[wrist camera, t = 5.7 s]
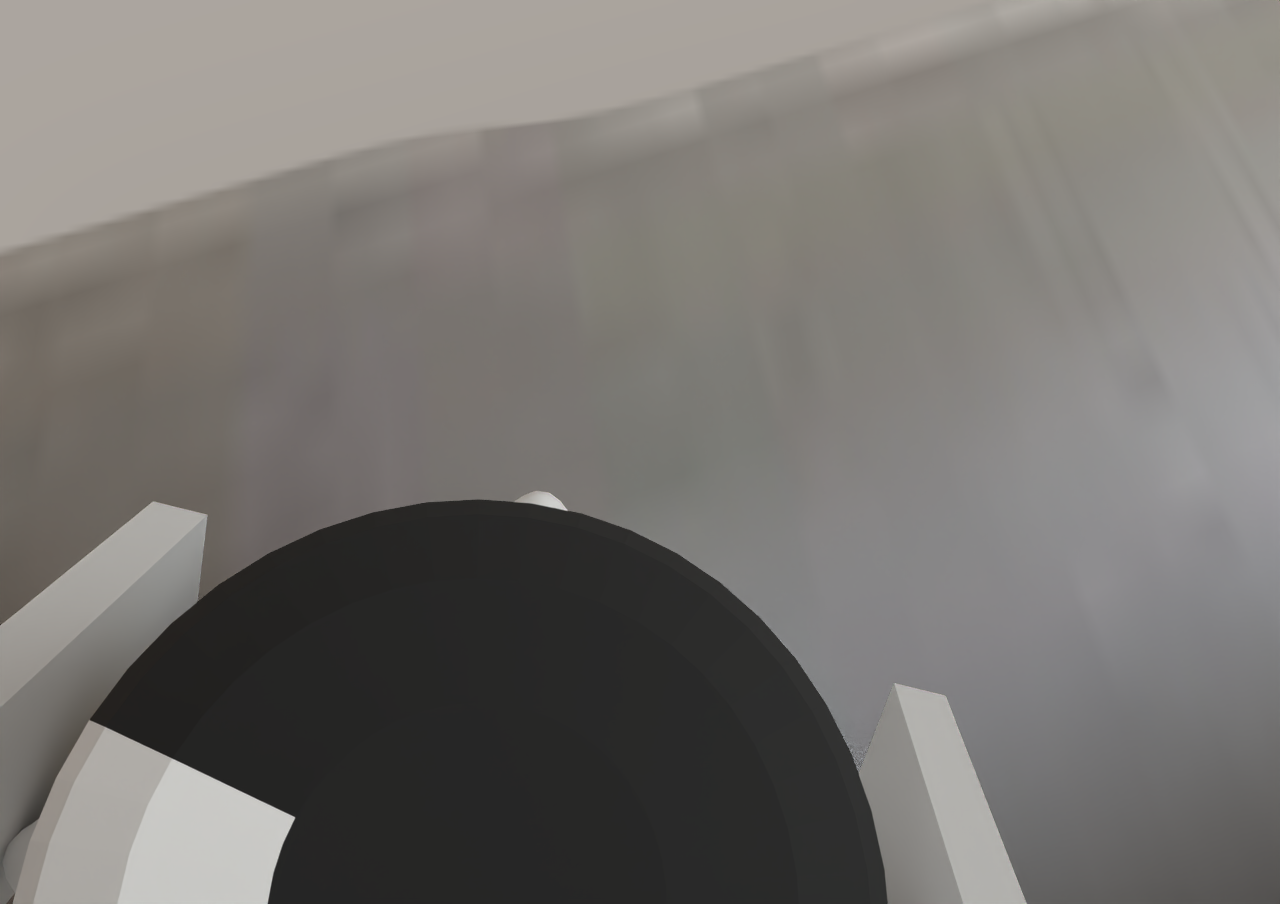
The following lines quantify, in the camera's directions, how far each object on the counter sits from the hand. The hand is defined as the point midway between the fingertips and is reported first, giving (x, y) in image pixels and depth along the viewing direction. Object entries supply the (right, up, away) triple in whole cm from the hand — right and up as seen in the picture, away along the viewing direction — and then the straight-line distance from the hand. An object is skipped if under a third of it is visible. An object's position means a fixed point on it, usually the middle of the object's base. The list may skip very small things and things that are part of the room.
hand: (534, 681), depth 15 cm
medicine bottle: (-1, -4, +3) cm, 5 cm away
